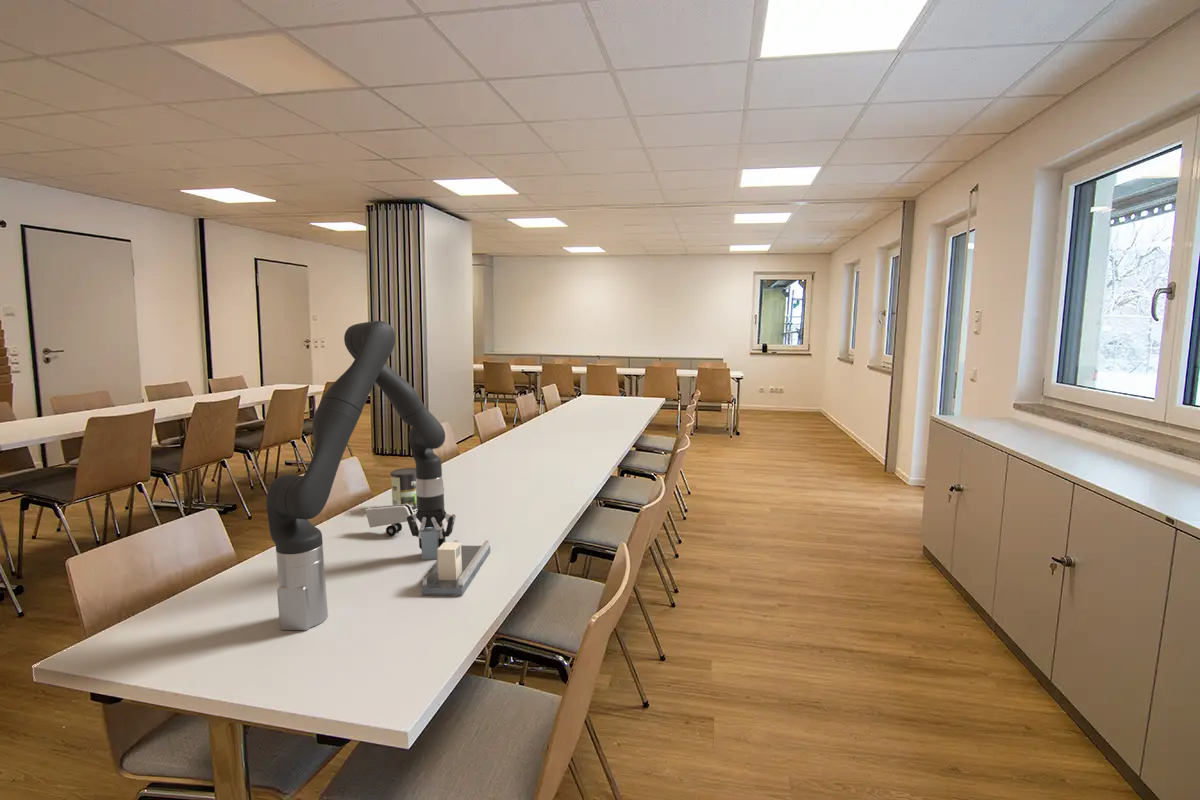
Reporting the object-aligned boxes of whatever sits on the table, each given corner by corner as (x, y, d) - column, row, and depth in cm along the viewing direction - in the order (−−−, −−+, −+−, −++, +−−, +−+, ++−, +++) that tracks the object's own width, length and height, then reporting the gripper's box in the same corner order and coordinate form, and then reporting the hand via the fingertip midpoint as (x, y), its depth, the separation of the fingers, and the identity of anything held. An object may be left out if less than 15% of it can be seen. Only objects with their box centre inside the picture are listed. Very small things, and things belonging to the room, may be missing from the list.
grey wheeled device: (371, 539, 185) (413, 532, 182) (364, 509, 184) (406, 502, 181) (378, 534, 189) (419, 528, 186) (371, 506, 188) (412, 498, 185)
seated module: (456, 580, 146) (455, 549, 145) (438, 580, 146) (437, 549, 145) (462, 572, 151) (461, 542, 150) (444, 571, 151) (443, 542, 150)
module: (438, 559, 165) (436, 532, 164) (422, 559, 165) (420, 532, 164) (443, 552, 170) (442, 526, 169) (428, 552, 170) (426, 526, 169)
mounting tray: (462, 596, 142) (461, 580, 141) (421, 595, 142) (421, 579, 142) (490, 552, 169) (489, 539, 169) (456, 552, 170) (456, 538, 169)
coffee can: (426, 504, 217) (425, 468, 215) (413, 513, 206) (411, 474, 205) (401, 504, 218) (399, 467, 216) (387, 512, 208) (384, 474, 206)
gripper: (400, 495, 162) (403, 554, 164) (450, 496, 161) (453, 555, 163) (410, 488, 169) (413, 544, 171) (458, 488, 168) (461, 545, 170)
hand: (432, 549), depth 167 cm, fingers closed on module, 4 cm apart
